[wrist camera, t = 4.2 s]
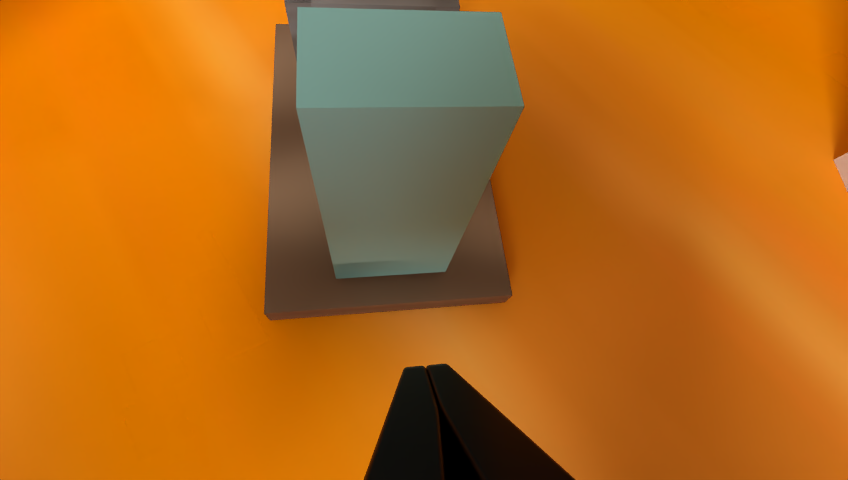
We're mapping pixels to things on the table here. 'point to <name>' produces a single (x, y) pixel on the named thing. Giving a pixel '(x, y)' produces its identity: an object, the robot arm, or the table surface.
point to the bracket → (304, 231)
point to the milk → (843, 168)
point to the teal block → (401, 129)
